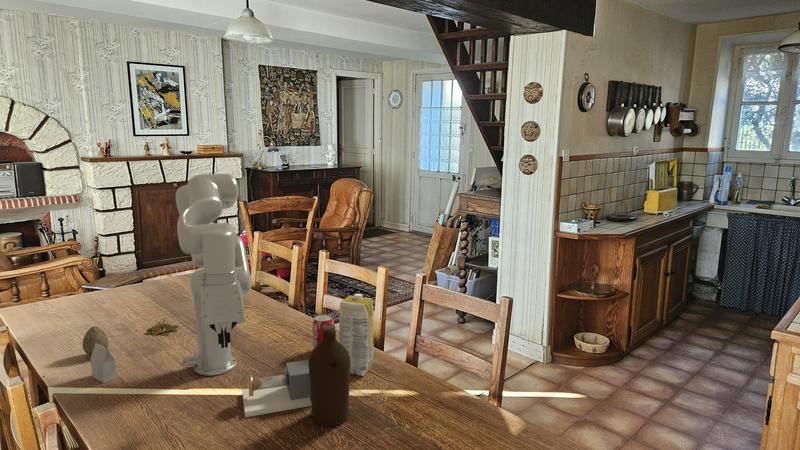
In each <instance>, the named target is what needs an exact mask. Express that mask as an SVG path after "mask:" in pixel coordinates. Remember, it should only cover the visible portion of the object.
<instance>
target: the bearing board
mask: <svg viewBox="0 0 800 450" xmlns="http://www.w3.org/2000/svg"><path fill="white" fill-rule="evenodd" d="M308 362H309V359H304V360H303V359H302V360H298V361H290V362H286V363H285V369H286V370H285V371H286V374H289V385H288V386H281V387H275V388H269V389H262V390H256V391H253V396H250V397H249V388H243V389H242V401H243V409H244V418H248V417H256V416H261V415H267V414H271V413H272V414H273V413H279V412H283V411H290V410H295V409H301V408H307V407H312V404H311V400H310V396H311V390H310V377H309V366H308Z"/></svg>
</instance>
